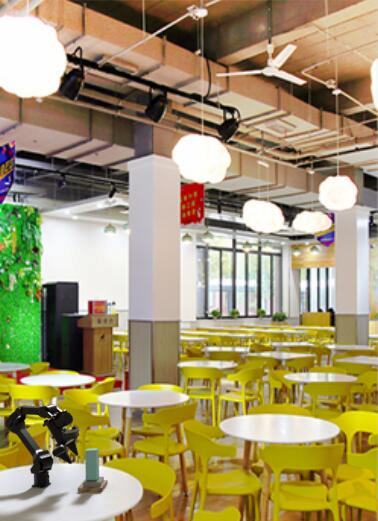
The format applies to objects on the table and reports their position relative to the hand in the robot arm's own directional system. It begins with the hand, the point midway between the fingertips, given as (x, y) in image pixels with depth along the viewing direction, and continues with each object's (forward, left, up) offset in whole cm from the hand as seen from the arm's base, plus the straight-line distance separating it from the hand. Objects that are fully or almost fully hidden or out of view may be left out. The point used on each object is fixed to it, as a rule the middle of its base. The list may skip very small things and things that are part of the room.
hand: (74, 459), depth 268 cm
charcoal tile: (+10, 0, -10) cm, 14 cm away
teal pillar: (+10, 0, -8) cm, 13 cm away
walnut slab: (+10, 0, -13) cm, 16 cm away
